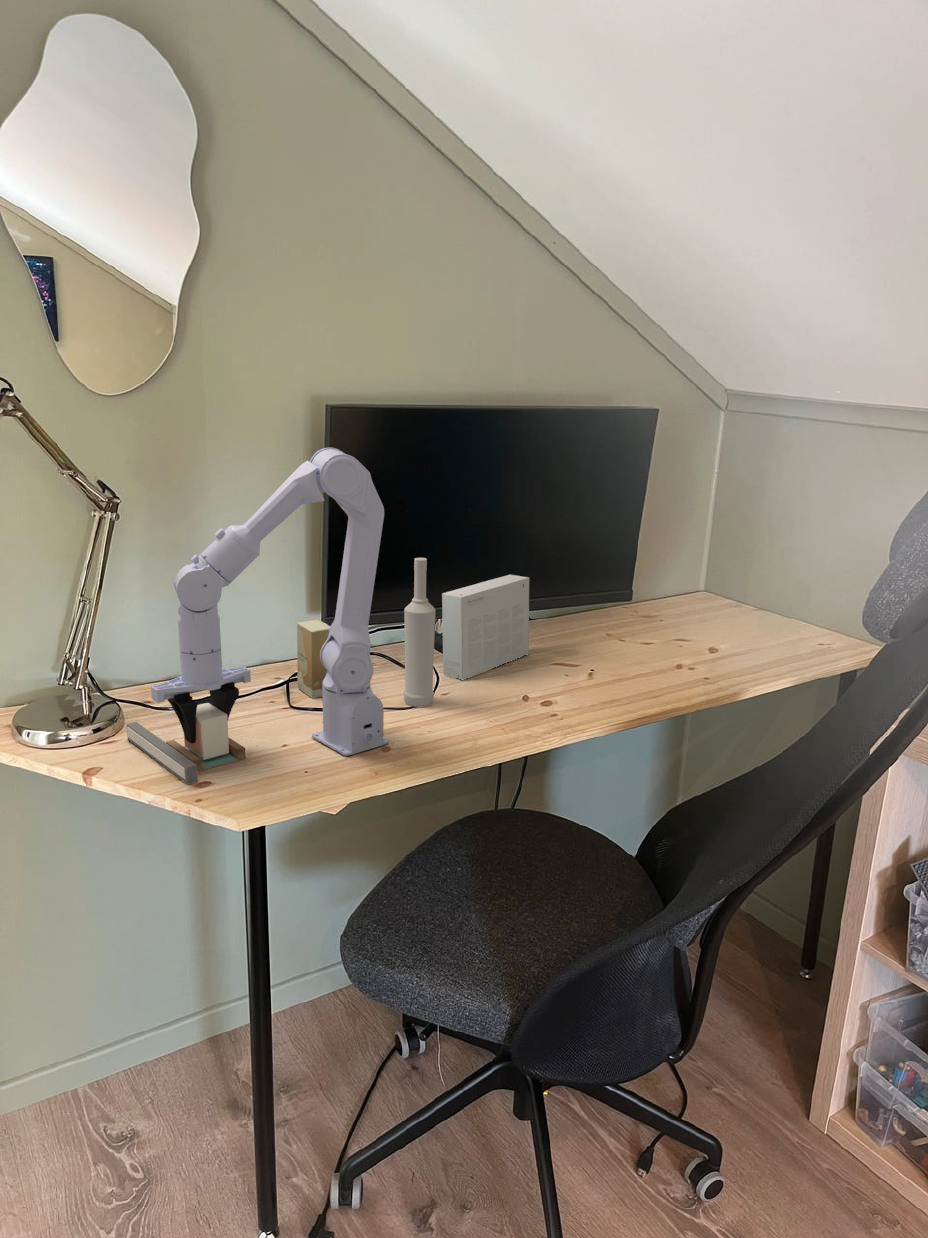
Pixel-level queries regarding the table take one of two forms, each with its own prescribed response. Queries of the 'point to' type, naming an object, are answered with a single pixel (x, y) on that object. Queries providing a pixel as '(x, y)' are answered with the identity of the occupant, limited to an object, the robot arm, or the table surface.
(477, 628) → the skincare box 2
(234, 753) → the facing slot
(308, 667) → the skincare box
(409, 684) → the bottle
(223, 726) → the carton
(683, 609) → the table surface
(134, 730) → the rail
